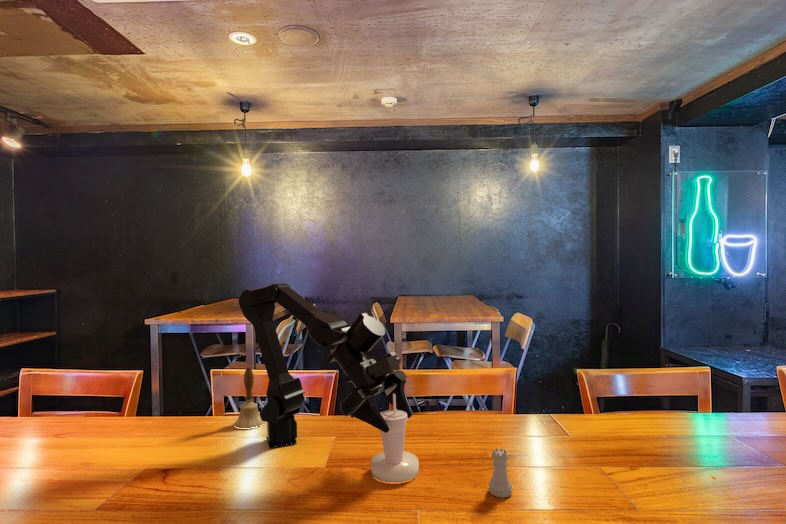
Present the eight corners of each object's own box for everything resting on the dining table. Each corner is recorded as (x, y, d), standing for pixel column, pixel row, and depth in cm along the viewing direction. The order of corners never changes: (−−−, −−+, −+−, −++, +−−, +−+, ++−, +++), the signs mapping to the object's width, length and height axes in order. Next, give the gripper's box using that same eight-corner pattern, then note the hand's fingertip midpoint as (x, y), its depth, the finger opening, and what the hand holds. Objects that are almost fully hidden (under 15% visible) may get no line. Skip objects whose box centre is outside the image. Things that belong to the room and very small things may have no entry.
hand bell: (269, 419, 127) (268, 363, 127) (257, 430, 119) (256, 370, 119) (241, 418, 128) (240, 363, 128) (227, 430, 120) (226, 370, 120)
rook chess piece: (495, 484, 89) (494, 444, 89) (516, 491, 86) (515, 450, 86) (484, 493, 85) (483, 452, 85) (506, 501, 83) (505, 458, 82)
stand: (382, 489, 88) (381, 476, 88) (364, 467, 97) (364, 456, 97) (427, 478, 92) (426, 466, 92) (406, 458, 101) (406, 447, 101)
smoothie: (404, 468, 90) (401, 399, 90) (374, 465, 92) (372, 397, 92) (412, 455, 97) (410, 390, 96) (384, 452, 99) (382, 388, 98)
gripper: (350, 349, 88) (400, 415, 82) (399, 334, 104) (443, 388, 98) (320, 384, 92) (365, 449, 87) (371, 365, 108) (412, 418, 103)
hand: (399, 423), depth 93 cm, fingers open, 9 cm apart
